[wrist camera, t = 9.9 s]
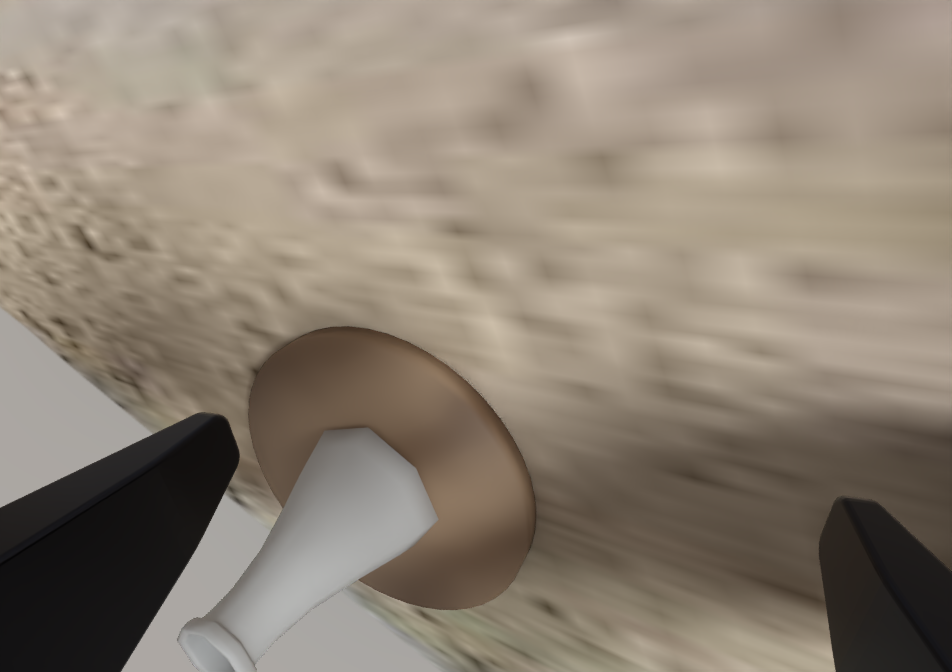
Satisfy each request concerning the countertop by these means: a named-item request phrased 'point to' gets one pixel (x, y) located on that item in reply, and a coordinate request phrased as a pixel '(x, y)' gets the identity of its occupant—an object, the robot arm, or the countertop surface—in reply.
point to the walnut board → (405, 455)
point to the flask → (316, 547)
